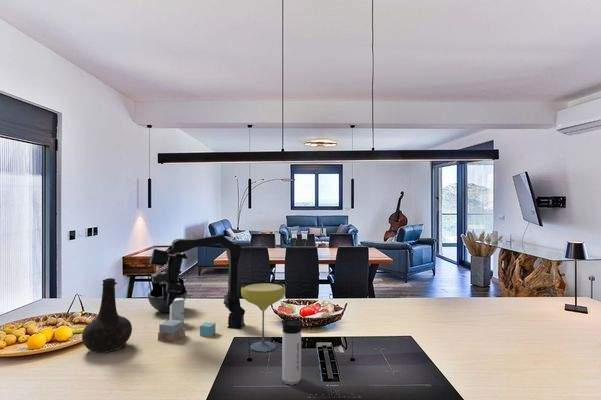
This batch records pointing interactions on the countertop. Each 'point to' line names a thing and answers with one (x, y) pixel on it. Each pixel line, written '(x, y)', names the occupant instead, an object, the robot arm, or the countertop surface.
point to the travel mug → (291, 352)
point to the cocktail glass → (263, 304)
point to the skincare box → (177, 310)
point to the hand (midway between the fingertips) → (166, 303)
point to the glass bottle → (107, 324)
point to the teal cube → (207, 329)
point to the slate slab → (170, 326)
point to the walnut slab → (171, 336)
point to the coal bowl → (157, 297)
